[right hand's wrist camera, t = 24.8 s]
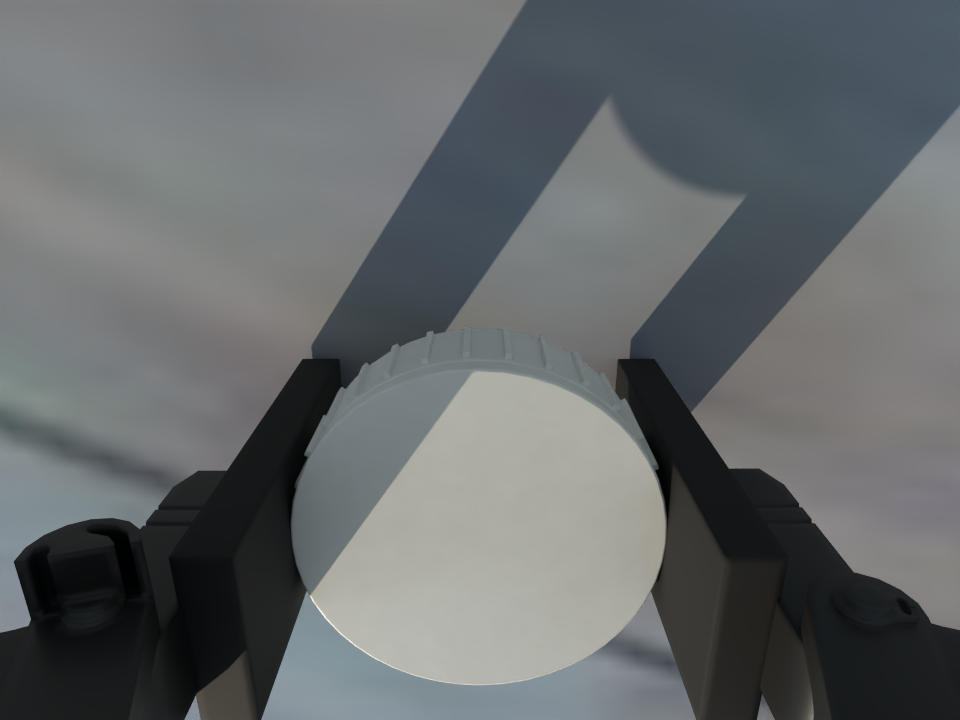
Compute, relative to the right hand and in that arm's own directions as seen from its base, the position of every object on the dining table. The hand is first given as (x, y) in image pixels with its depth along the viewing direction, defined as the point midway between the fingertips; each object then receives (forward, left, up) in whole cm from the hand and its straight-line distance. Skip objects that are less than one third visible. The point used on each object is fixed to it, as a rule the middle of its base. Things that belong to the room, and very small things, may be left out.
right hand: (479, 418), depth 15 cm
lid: (0, 0, +4) cm, 4 cm away
